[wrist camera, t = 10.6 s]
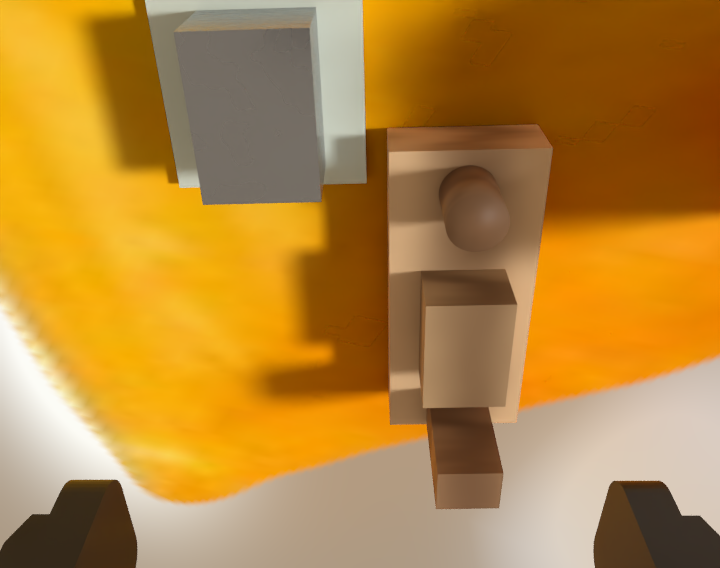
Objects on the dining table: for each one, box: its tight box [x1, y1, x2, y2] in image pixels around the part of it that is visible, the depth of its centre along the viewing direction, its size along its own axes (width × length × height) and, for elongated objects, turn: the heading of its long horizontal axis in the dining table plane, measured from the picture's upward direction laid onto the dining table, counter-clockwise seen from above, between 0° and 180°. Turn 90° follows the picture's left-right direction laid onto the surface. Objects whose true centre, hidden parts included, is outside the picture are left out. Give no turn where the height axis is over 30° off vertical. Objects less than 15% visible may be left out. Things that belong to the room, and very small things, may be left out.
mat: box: [145, 0, 367, 188], centre depth 30 cm, size 9×9×1 cm
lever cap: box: [174, 7, 326, 205], centre depth 28 cm, size 5×7×4 cm
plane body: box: [387, 124, 553, 509], centre depth 32 cm, size 7×16×9 cm, turn 2°
